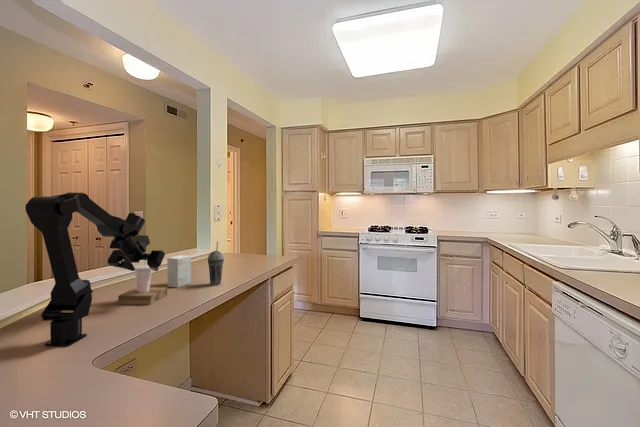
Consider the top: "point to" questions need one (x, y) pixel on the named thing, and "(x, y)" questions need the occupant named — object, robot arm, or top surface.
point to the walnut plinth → (142, 296)
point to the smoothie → (143, 277)
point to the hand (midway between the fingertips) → (145, 270)
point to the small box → (178, 271)
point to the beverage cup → (215, 266)
